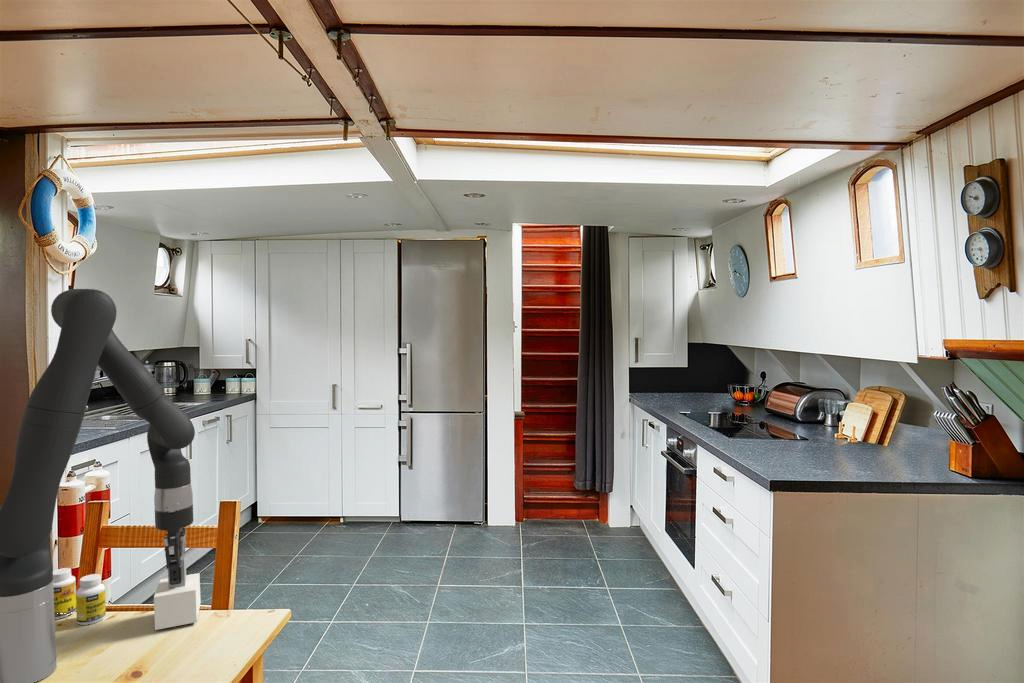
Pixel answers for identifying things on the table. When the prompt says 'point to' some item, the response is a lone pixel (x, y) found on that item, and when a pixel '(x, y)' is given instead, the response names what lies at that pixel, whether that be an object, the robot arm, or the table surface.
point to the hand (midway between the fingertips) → (176, 580)
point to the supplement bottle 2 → (90, 600)
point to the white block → (177, 600)
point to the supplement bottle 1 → (64, 592)
